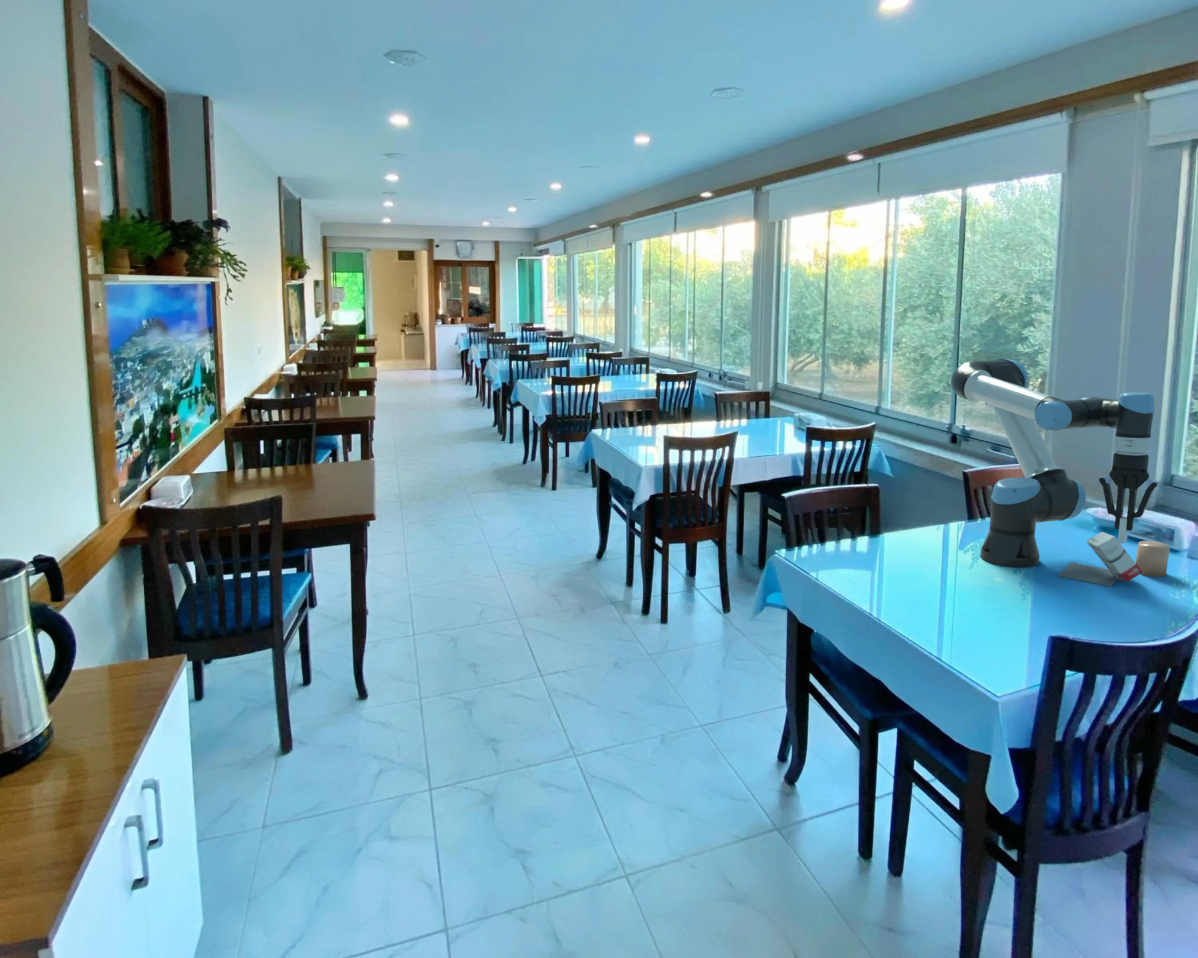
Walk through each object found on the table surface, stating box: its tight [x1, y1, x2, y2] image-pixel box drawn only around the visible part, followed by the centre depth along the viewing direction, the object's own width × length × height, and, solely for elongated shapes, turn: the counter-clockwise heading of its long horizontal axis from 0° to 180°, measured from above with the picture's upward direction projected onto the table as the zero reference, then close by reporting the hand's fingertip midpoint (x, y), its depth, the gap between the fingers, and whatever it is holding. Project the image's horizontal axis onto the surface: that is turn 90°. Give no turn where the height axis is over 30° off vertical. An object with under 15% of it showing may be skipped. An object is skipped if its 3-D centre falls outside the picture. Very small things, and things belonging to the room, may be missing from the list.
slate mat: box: [1057, 562, 1119, 588], centre depth 209 cm, size 12×14×1 cm
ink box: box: [1086, 531, 1143, 583], centre depth 203 cm, size 9×5×12 cm
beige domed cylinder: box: [1135, 540, 1171, 578], centre depth 209 cm, size 7×7×8 cm
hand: (1122, 541), depth 201 cm, fingers closed
